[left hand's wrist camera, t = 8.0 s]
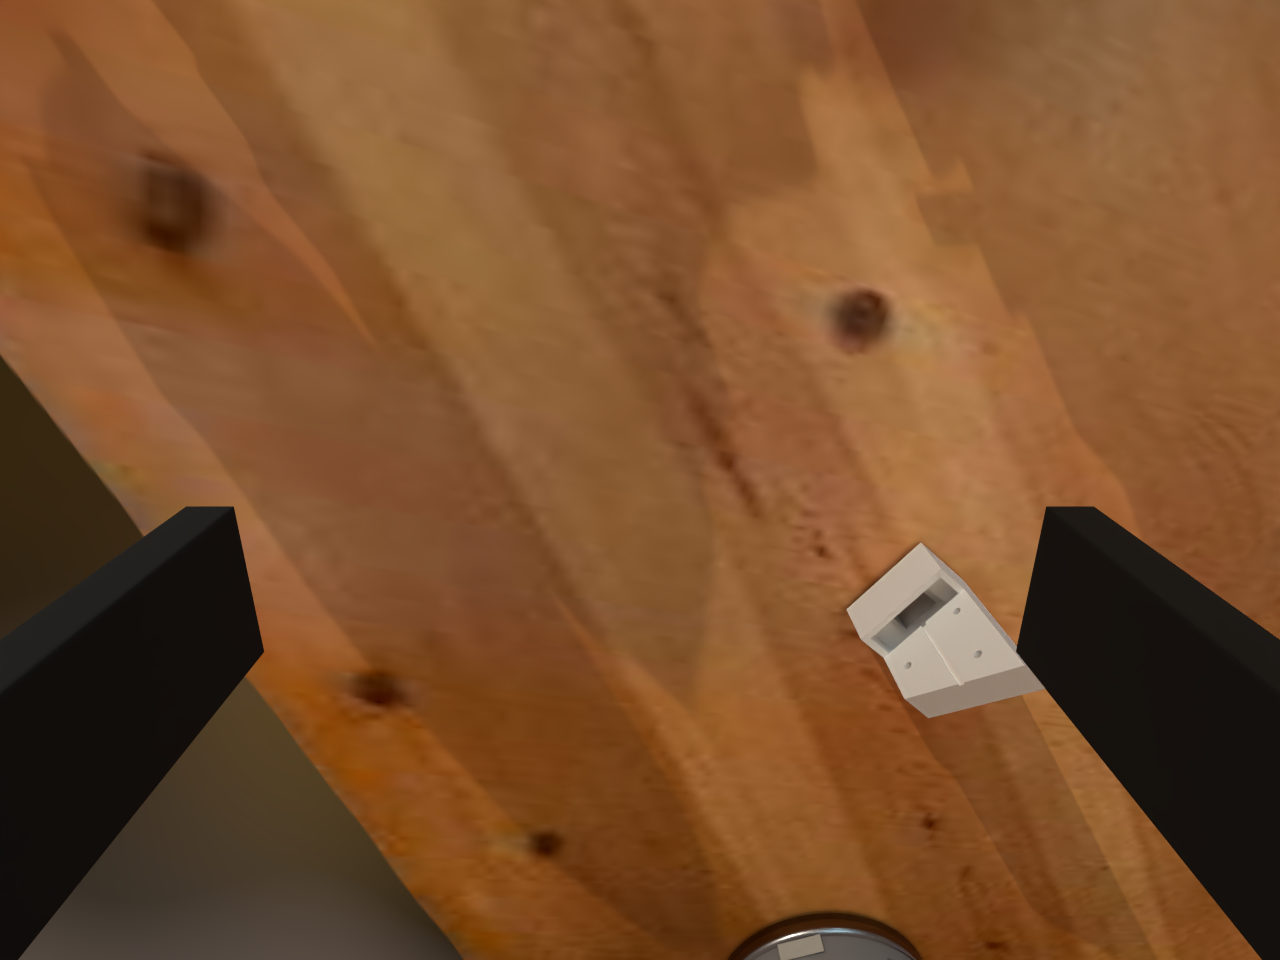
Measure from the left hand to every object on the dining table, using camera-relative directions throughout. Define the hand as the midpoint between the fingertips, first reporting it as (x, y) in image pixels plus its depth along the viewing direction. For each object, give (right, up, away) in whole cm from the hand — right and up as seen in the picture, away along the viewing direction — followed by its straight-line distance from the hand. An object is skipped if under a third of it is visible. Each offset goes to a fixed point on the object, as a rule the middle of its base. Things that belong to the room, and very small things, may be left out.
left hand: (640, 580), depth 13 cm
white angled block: (+15, -5, +32) cm, 36 cm away
